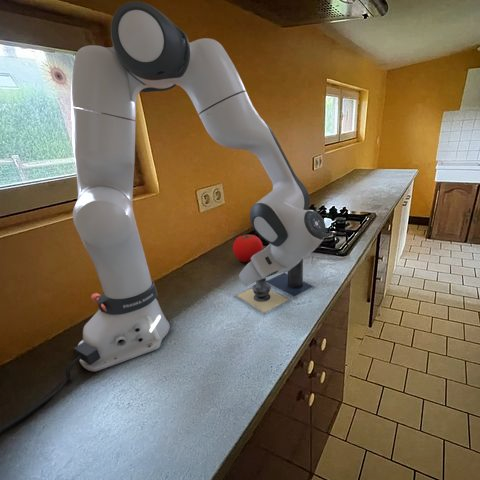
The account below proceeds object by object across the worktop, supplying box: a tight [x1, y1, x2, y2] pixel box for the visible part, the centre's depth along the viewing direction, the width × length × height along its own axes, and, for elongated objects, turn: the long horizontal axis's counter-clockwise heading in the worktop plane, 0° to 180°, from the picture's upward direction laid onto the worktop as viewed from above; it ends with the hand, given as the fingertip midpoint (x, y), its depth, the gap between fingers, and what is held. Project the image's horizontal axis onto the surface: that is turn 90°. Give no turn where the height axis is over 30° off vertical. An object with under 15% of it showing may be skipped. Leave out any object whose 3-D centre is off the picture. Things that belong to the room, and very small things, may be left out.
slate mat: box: [266, 272, 314, 298], centre depth 102 cm, size 9×14×1 cm, turn 42°
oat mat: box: [235, 287, 289, 314], centre depth 95 cm, size 10×14×1 cm
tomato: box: [232, 233, 264, 263], centre depth 119 cm, size 12×12×10 cm
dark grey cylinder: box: [287, 258, 304, 289], centre depth 99 cm, size 5×5×10 cm
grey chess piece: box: [251, 277, 272, 302], centre depth 92 cm, size 6×6×12 cm
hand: (259, 276), depth 92 cm, fingers open, 8 cm apart
